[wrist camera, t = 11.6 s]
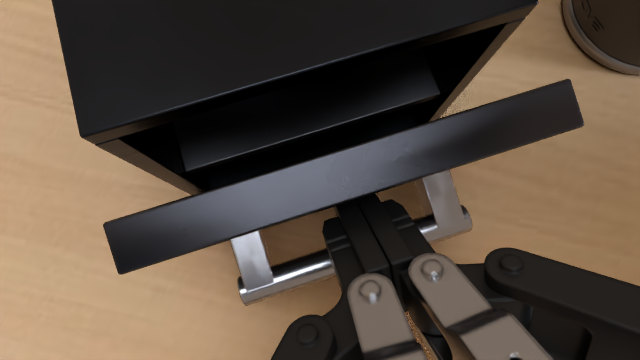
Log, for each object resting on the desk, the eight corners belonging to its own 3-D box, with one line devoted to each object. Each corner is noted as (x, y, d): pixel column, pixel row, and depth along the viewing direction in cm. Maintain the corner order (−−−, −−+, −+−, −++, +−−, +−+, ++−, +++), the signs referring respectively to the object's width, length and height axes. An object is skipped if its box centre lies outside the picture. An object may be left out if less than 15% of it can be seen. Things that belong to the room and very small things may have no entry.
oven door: (455, 212, 25) (622, 237, 12) (229, 287, 24) (155, 398, 11) (430, 134, 25) (571, 77, 12) (204, 205, 24) (101, 223, 11)
